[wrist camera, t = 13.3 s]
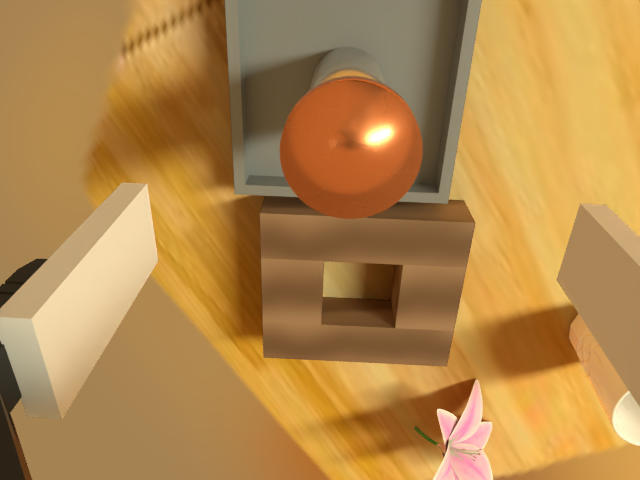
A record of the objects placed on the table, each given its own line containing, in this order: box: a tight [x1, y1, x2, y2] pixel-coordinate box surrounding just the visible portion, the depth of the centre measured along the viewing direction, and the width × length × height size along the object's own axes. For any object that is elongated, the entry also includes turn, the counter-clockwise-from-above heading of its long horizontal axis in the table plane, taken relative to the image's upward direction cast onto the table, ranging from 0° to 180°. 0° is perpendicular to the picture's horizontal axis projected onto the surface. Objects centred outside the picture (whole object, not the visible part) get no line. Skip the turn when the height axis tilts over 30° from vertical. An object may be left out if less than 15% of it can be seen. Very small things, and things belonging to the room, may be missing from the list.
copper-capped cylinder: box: [280, 47, 423, 219], centre depth 30 cm, size 6×6×15 cm
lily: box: [415, 379, 493, 480], centre depth 50 cm, size 12×12×10 cm
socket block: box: [260, 196, 475, 366], centre depth 43 cm, size 14×16×4 cm
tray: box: [225, 0, 482, 204], centre depth 36 cm, size 16×16×3 cm
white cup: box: [569, 313, 640, 446], centre depth 42 cm, size 8×8×10 cm
